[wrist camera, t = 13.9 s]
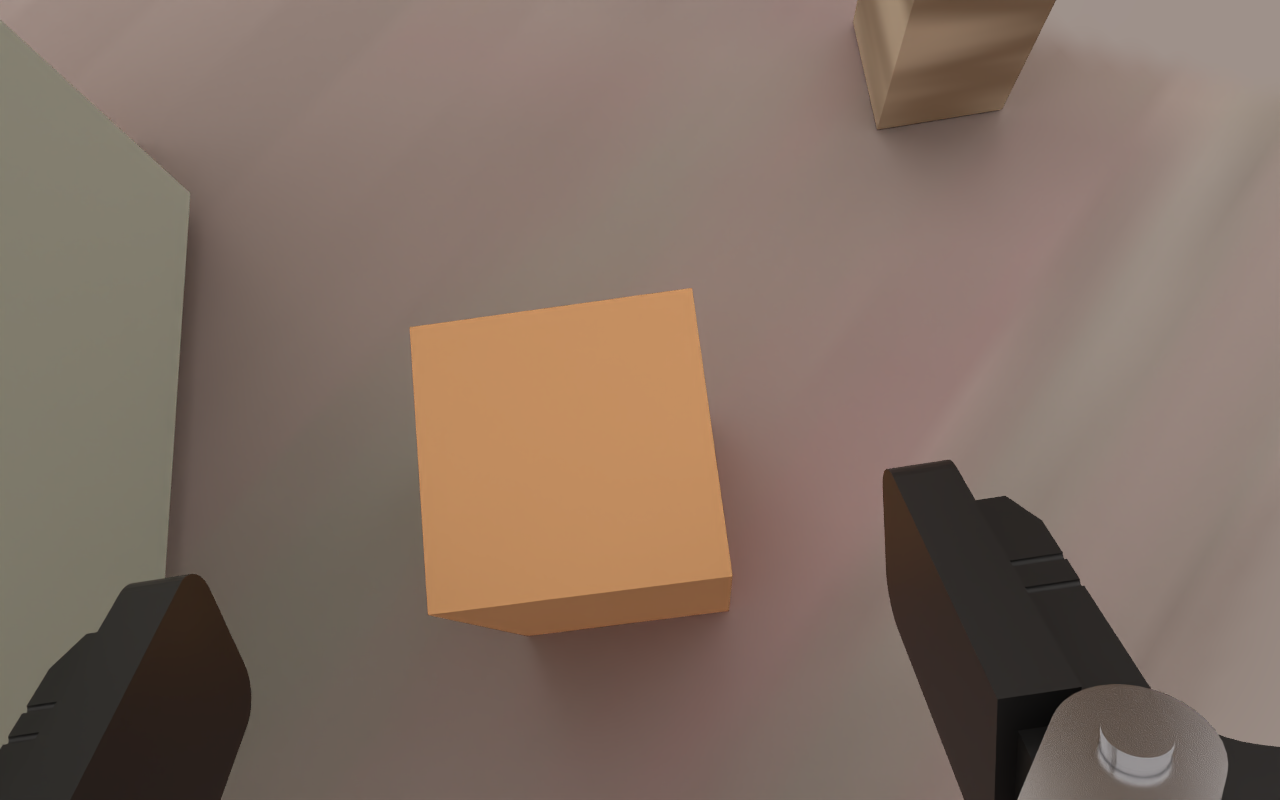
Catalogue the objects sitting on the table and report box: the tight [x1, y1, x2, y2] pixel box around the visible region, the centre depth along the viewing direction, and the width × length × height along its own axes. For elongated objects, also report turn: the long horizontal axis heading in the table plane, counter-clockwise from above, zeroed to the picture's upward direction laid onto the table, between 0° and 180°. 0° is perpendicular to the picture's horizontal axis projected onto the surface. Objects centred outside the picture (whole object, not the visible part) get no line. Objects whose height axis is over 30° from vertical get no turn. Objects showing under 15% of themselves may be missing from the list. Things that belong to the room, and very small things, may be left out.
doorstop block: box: [410, 288, 732, 636], centre depth 19 cm, size 4×4×8 cm
